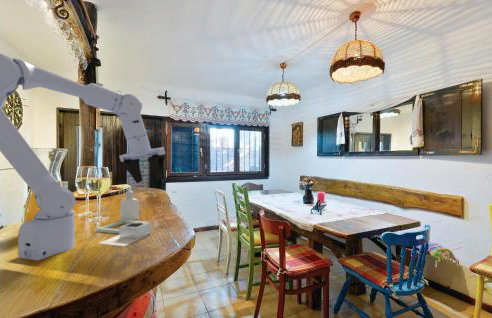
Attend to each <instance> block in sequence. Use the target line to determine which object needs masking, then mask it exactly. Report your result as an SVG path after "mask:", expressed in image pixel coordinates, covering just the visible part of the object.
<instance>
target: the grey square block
mask: <svg viewBox="0 0 492 318" xmlns="http://www.w3.org/2000/svg"><path fill="white" fill-rule="evenodd" d="M145 222H146V221H145ZM145 222H132V223H140V225H139V226H138V227H131V223H129V224H124V225H123V224H122V225H121V226H119V227H118V228H119V234H118V235H119V238H122V239H131V240H137V239H139V240H141V239H143V238H145V237H147V236H148V235H150V234H151V222H149V223H145ZM146 235H147V236H146ZM144 236H145V237H144ZM142 237H143V238H142ZM140 238H141V239H140ZM137 241H138V240H137Z"/></svg>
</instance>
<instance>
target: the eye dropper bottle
mask: <svg viewBox="0 0 492 318" xmlns="http://www.w3.org/2000/svg"><path fill="white" fill-rule="evenodd" d="M127 188H128V190H127V191H126V192H125V198H124V199H122V200H121V201H120V221H121V220H132V221H138V220H139V219H140V203H139V202H140V200H139V199H138V198H135V197H134V191H133V190H132V188H131V187H127Z"/></svg>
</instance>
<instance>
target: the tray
mask: <svg viewBox="0 0 492 318" xmlns="http://www.w3.org/2000/svg"><path fill="white" fill-rule="evenodd" d="M132 222H145V223H150V222H149V221H143V220H142V221H140V220H121V219H120V220H118V221H116V222H113V223H109V224H107V225H104V226H100V227H97V228H96V232H98V233H106V234H107V233H109V234H117V235H119V229H118V228H114V227H116V226H120V225H123V224H124V225H126V224H129V223H132Z"/></svg>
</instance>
